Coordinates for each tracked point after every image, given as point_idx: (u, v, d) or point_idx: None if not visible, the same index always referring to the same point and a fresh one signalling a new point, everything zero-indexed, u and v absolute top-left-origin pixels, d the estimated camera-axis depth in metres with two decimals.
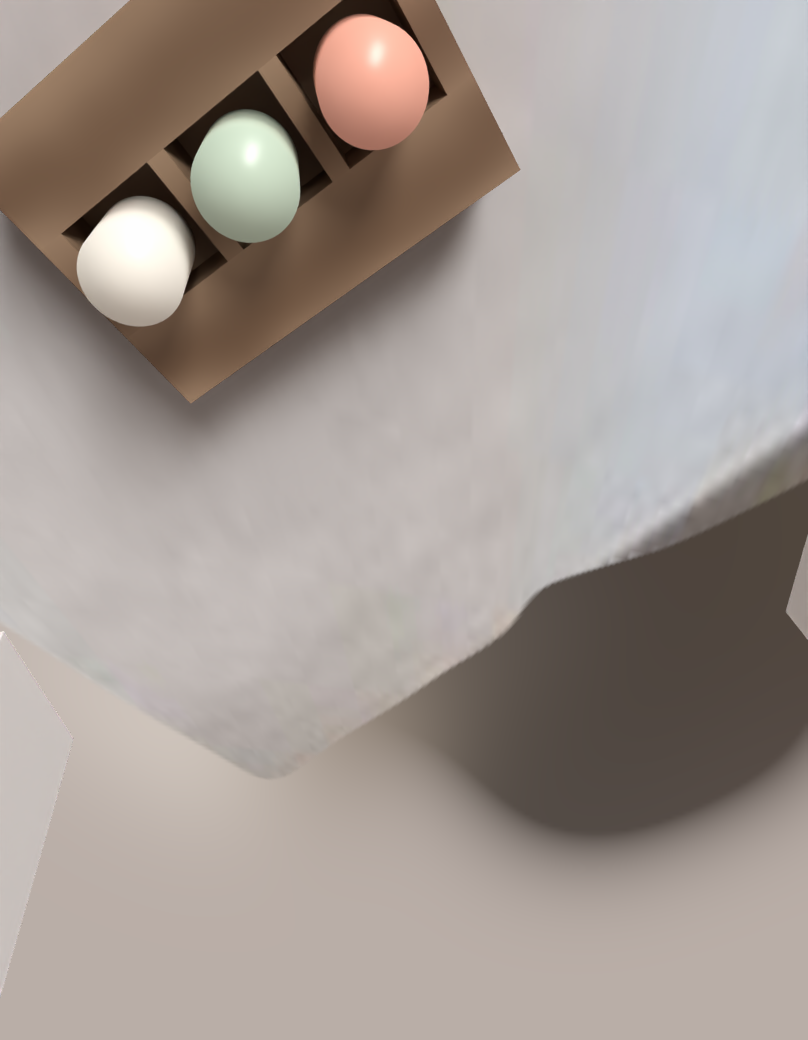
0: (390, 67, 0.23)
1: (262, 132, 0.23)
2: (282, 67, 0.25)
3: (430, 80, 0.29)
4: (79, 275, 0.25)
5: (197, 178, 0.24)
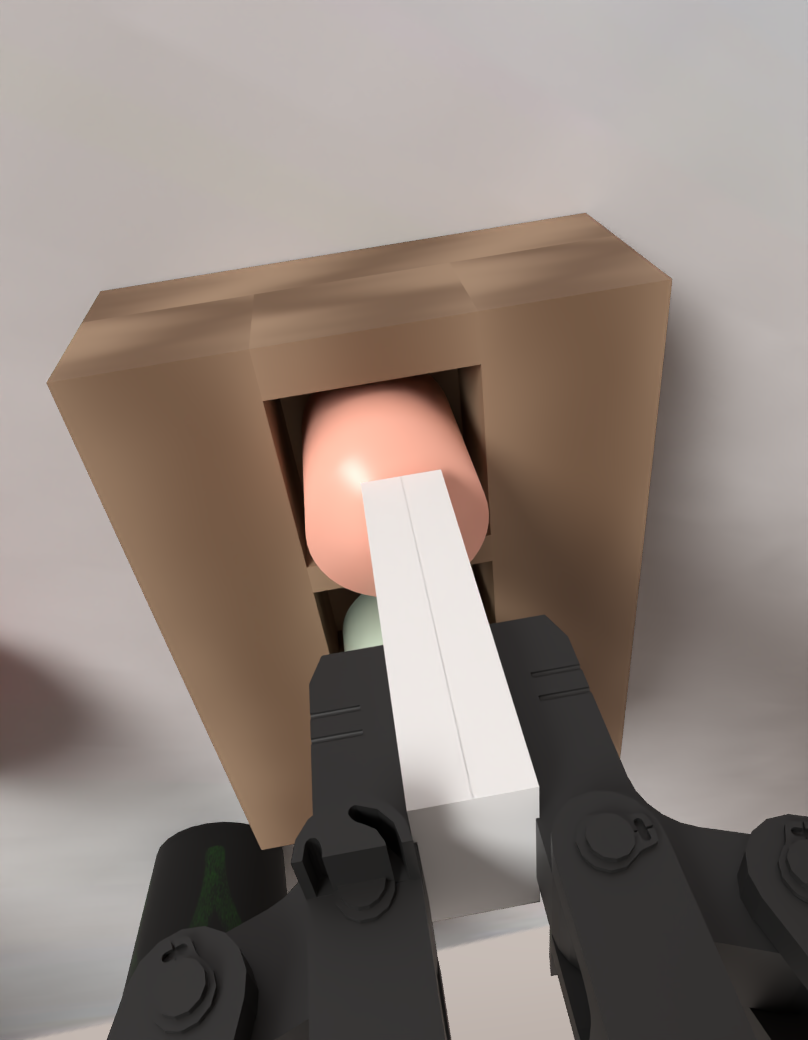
0: None
1: None
2: None
3: None
4: None
5: None
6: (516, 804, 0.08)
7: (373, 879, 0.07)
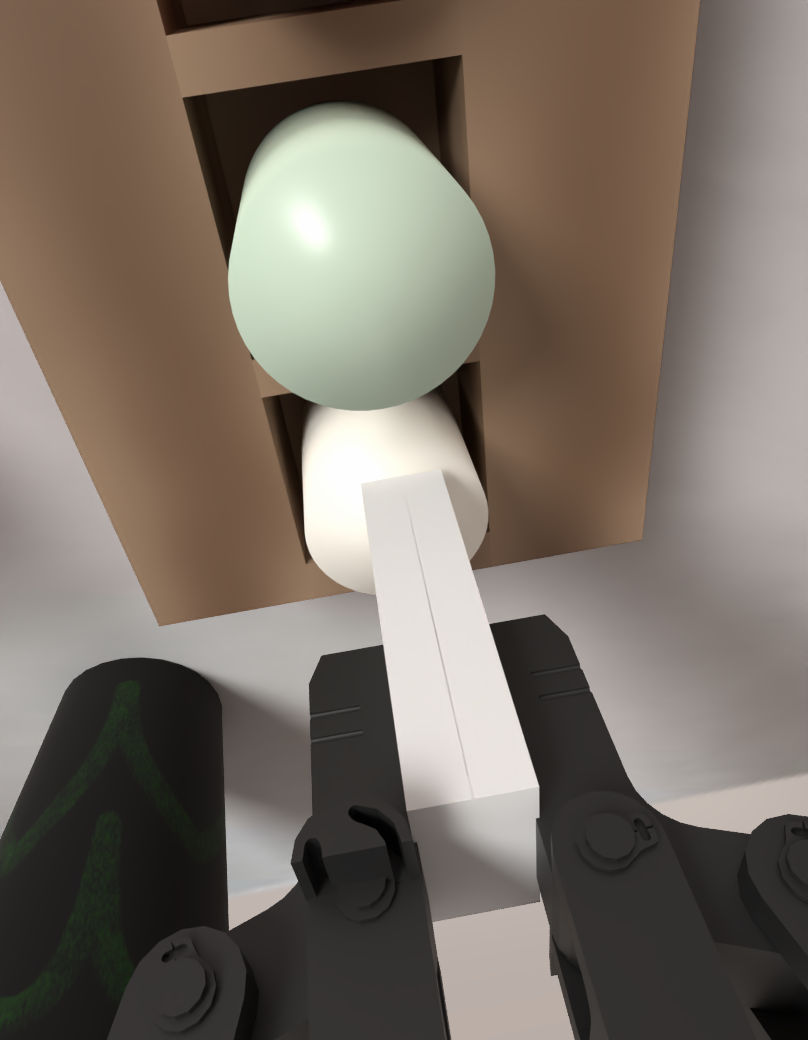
0: None
1: (268, 183, 0.09)
2: (194, 34, 0.11)
3: None
4: (354, 588, 0.15)
5: (300, 380, 0.10)
6: (516, 804, 0.08)
7: (373, 879, 0.07)
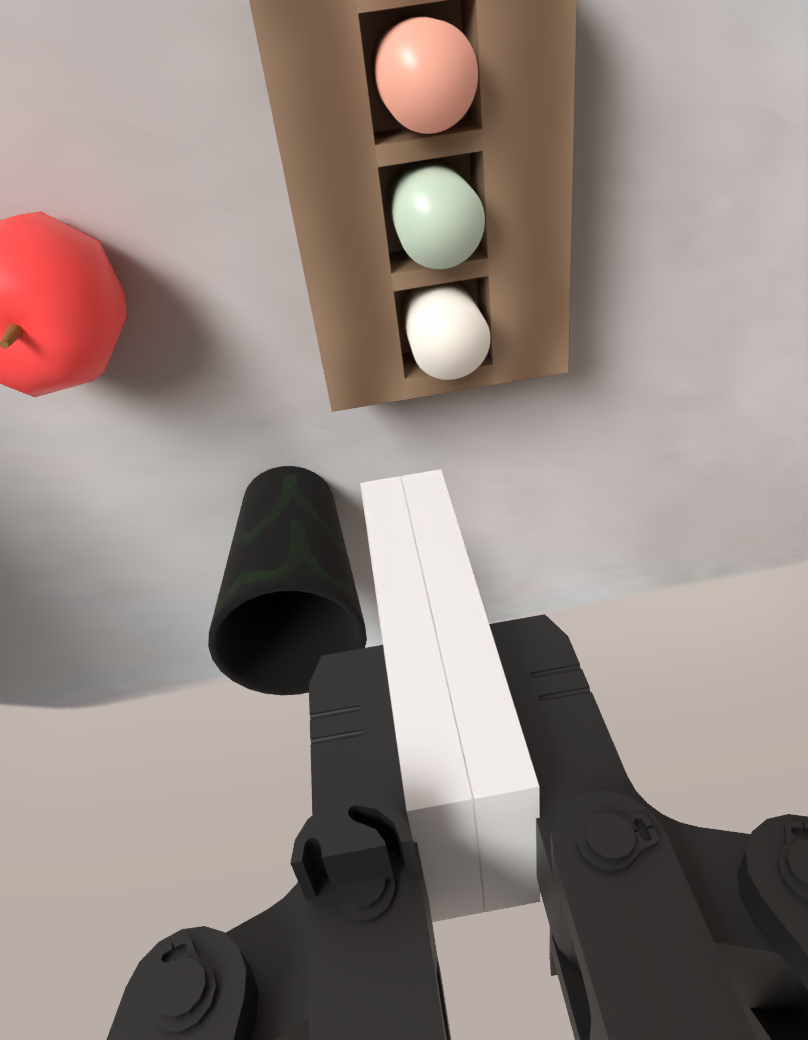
0: (423, 54, 0.26)
1: (414, 189, 0.29)
2: (385, 145, 0.29)
3: None
4: (431, 374, 0.34)
5: (418, 256, 0.30)
6: (516, 804, 0.08)
7: (373, 879, 0.07)
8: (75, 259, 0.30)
